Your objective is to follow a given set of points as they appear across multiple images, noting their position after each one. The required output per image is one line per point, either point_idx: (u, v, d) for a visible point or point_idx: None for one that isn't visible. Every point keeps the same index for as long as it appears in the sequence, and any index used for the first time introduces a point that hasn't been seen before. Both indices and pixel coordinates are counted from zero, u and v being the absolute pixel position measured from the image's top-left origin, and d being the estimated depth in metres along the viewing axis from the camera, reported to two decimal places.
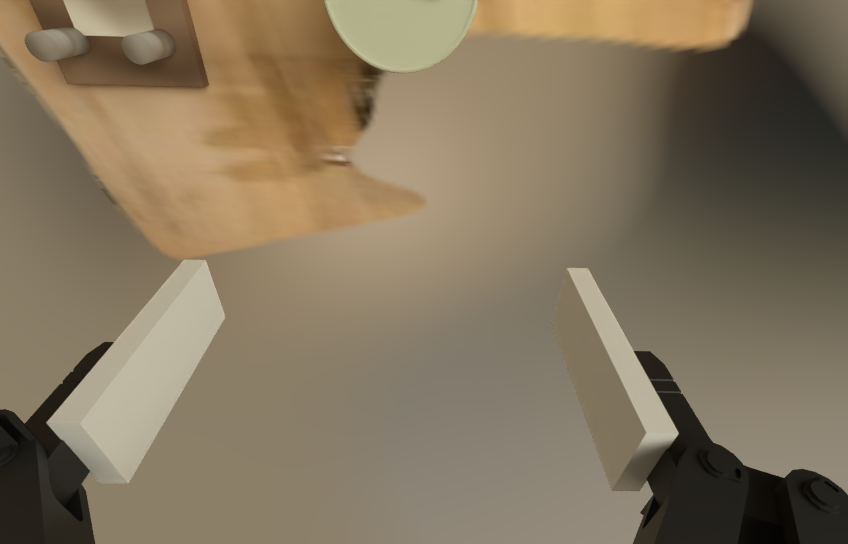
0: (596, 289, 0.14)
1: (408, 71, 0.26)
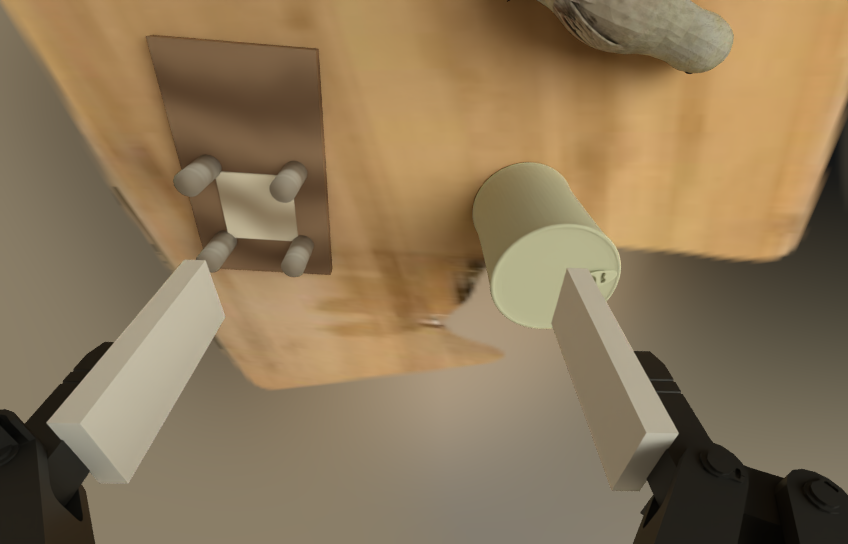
0: (596, 289, 0.14)
1: (546, 328, 0.31)
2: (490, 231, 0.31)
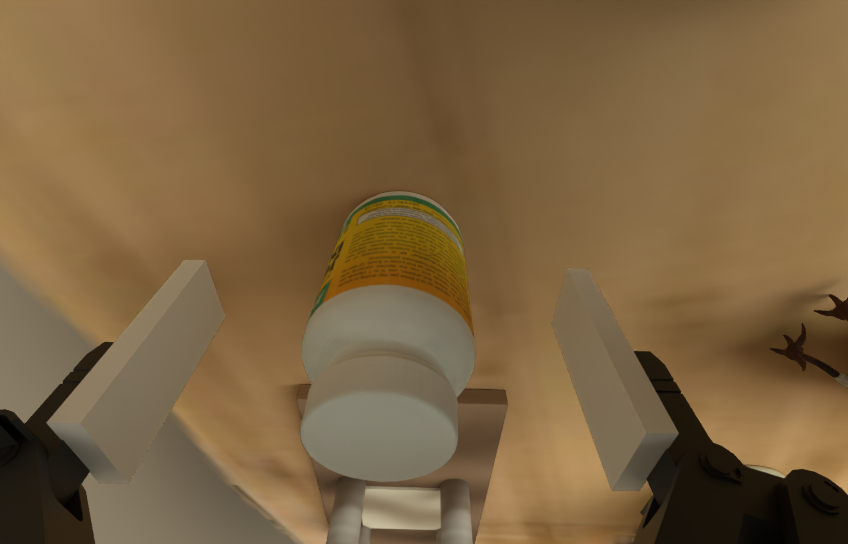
0: (596, 289, 0.14)
1: None
2: None
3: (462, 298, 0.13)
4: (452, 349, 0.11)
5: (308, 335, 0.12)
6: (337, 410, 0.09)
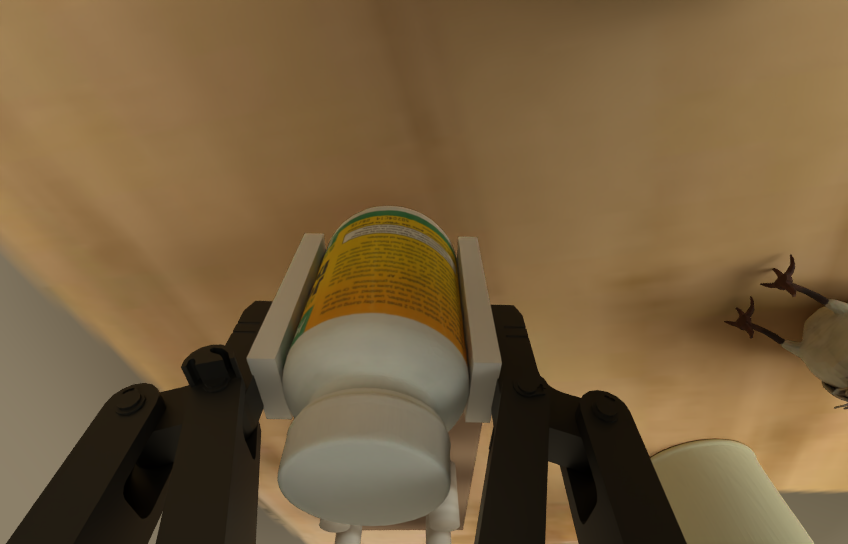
0: (477, 253, 0.15)
1: None
2: None
3: (454, 323, 0.12)
4: (444, 382, 0.10)
5: (288, 368, 0.11)
6: (316, 458, 0.09)
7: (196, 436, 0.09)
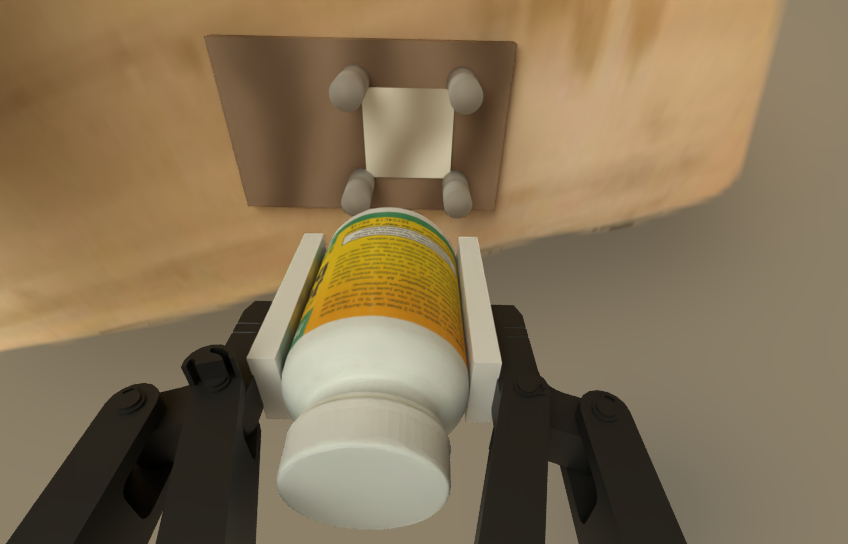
0: (477, 253, 0.15)
1: None
2: None
3: (454, 325, 0.12)
4: (444, 385, 0.10)
5: (287, 371, 0.11)
6: (315, 462, 0.09)
7: (197, 436, 0.09)
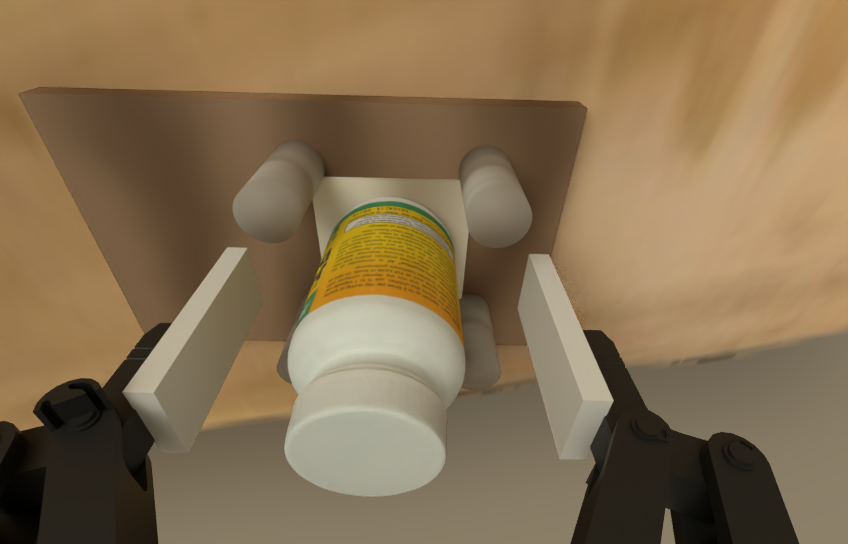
0: (554, 273, 0.14)
1: None
2: None
3: (451, 306, 0.12)
4: (441, 360, 0.11)
5: (293, 347, 0.11)
6: (321, 426, 0.09)
7: (66, 480, 0.08)
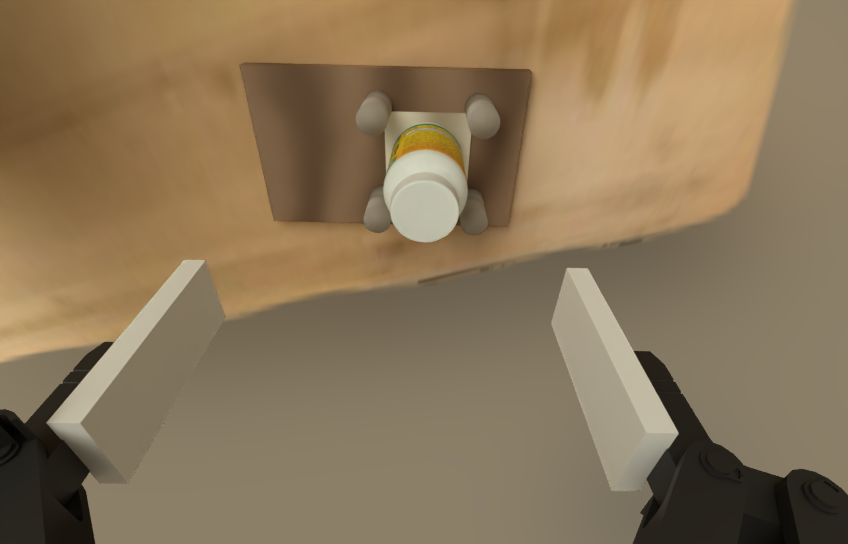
0: (596, 289, 0.14)
1: None
2: None
3: (461, 164, 0.26)
4: (456, 179, 0.24)
5: (388, 175, 0.25)
6: (408, 191, 0.23)
7: None
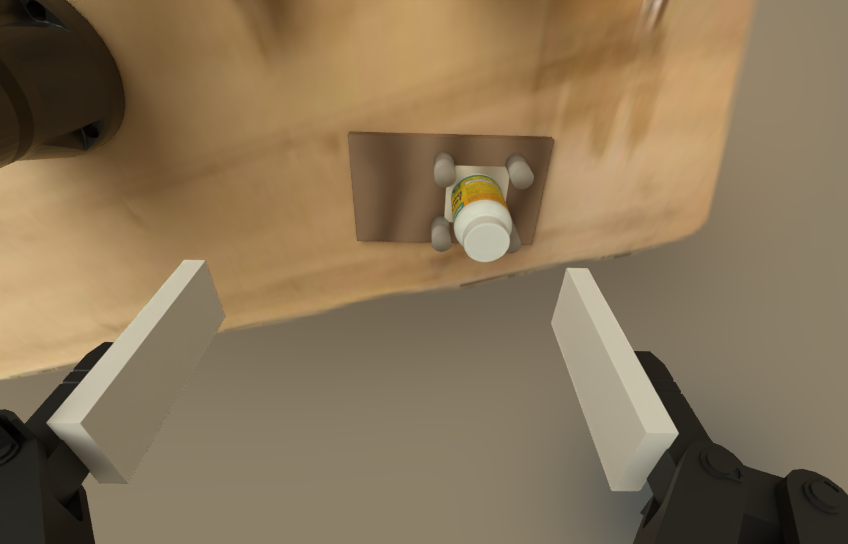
0: (596, 289, 0.14)
1: None
2: None
3: (507, 207, 0.38)
4: (506, 219, 0.36)
5: (460, 216, 0.36)
6: (477, 230, 0.34)
7: None
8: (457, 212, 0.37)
